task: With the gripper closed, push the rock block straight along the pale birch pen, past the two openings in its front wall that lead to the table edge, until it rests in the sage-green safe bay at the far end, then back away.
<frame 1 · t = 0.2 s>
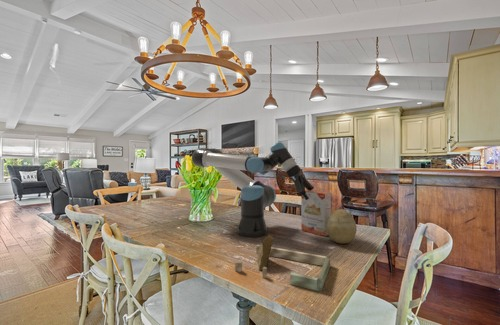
hand: (315, 202, 119), 15 cm above the table, tool tilted 35°, fingers open, 13 cm apart
cracker box: (315, 232, 120), on the table
rock: (262, 264, 84), on the table
fossilized egg: (340, 243, 106), on the table
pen: (283, 268, 81), on the table
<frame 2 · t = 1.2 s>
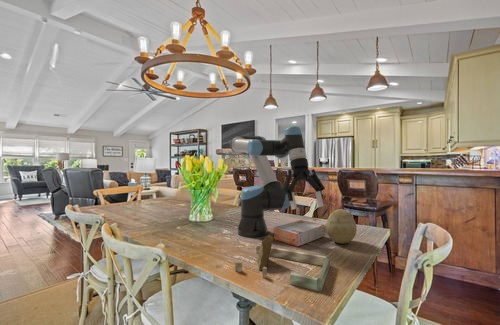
hand: (308, 207, 98), 17 cm above the table, tool tilted 20°, fingers open, 13 cm apart
cracker box: (312, 228, 119), point 3 cm above the table
everything else where it was.
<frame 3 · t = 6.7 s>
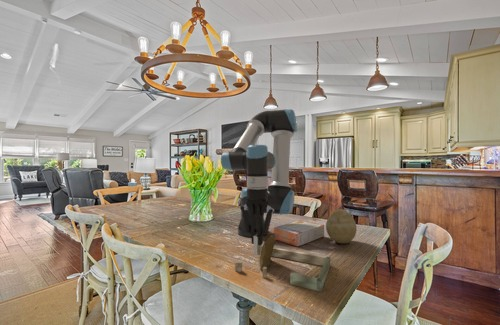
hand: (257, 253, 85), 4 cm above the table, tool pointing down, fingers closed
rock: (263, 264, 84), on the table, touching gripper
everything else where it was.
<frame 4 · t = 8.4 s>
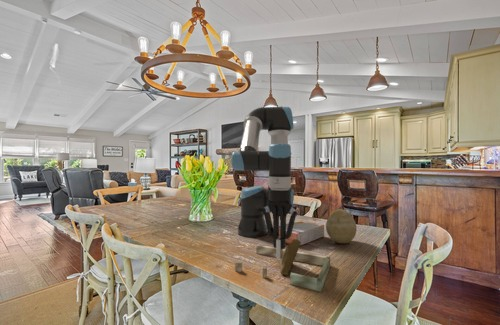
hand: (279, 257, 81), 4 cm above the table, tool pointing down, fingers closed
rock: (285, 268, 81), on the table, touching gripper
everything else where it was.
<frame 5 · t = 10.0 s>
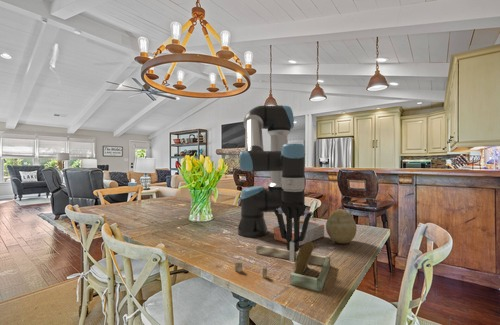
hand: (293, 260, 79), 4 cm above the table, tool pointing down, fingers closed
rock: (298, 271, 79), on the table, touching gripper
everything else where it was.
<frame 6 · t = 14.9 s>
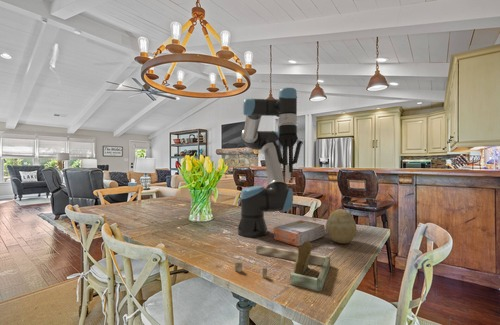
hand: (288, 180, 102), 28 cm above the table, tool pointing down, fingers closed
rock: (299, 272, 79), on the table
everything else where it was.
at the end: rock inside the target area (3.2 cm from its centre), on the table; rock moved 13.3 cm from its start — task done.
